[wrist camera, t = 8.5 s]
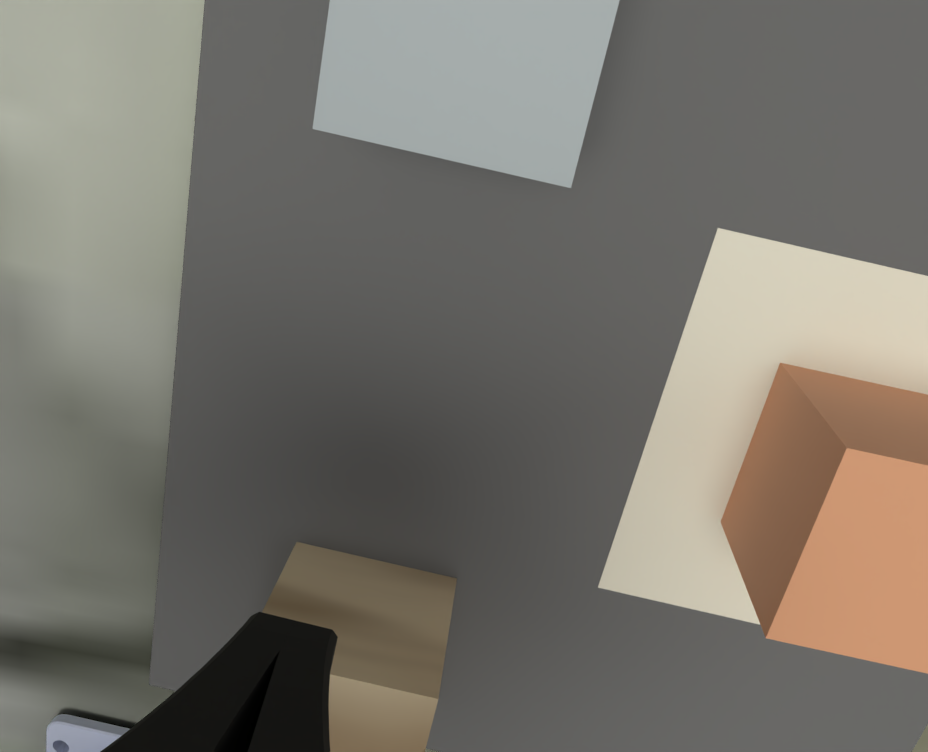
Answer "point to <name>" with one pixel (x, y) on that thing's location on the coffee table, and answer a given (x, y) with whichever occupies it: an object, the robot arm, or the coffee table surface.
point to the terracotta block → (837, 517)
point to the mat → (550, 366)
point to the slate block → (467, 79)
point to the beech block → (372, 643)
